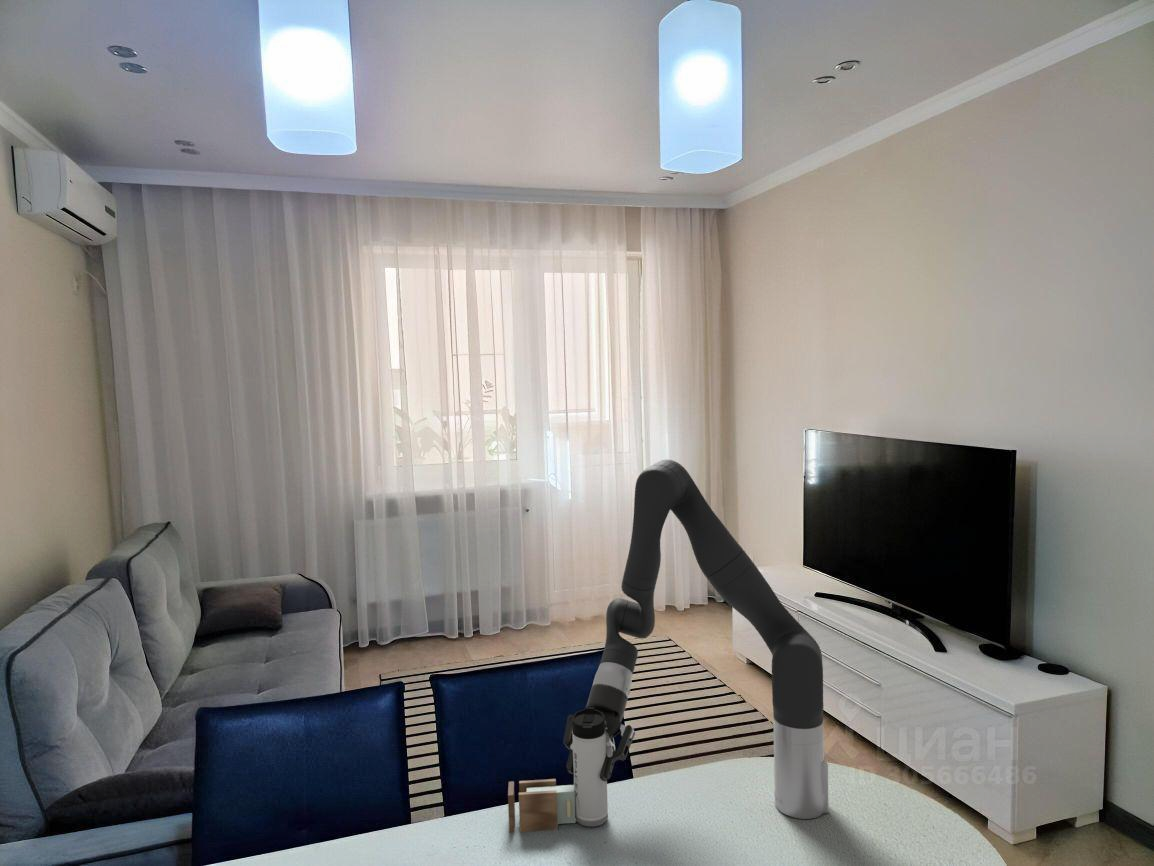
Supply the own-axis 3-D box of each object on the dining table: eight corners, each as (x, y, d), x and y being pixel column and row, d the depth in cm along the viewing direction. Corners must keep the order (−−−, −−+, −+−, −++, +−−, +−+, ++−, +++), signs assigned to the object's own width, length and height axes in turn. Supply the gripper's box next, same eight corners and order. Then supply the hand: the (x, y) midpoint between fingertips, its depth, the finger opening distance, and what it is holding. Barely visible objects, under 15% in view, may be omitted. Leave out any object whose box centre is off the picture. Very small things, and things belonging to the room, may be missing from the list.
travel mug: (609, 808, 142) (606, 707, 141) (606, 827, 136) (603, 722, 135) (577, 806, 143) (573, 706, 142) (573, 826, 136) (569, 721, 135)
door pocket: (556, 814, 141) (555, 778, 141) (557, 829, 136) (556, 792, 136) (509, 817, 141) (508, 781, 140) (509, 832, 136) (507, 795, 135)
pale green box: (574, 815, 140) (573, 784, 140) (575, 824, 137) (574, 793, 137) (527, 818, 139) (526, 787, 139) (527, 827, 136) (526, 796, 136)
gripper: (572, 677, 148) (545, 761, 138) (638, 688, 142) (616, 776, 132) (584, 693, 153) (559, 776, 143) (648, 704, 147) (628, 791, 137)
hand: (586, 775), depth 137 cm, fingers closed on travel mug, 6 cm apart
